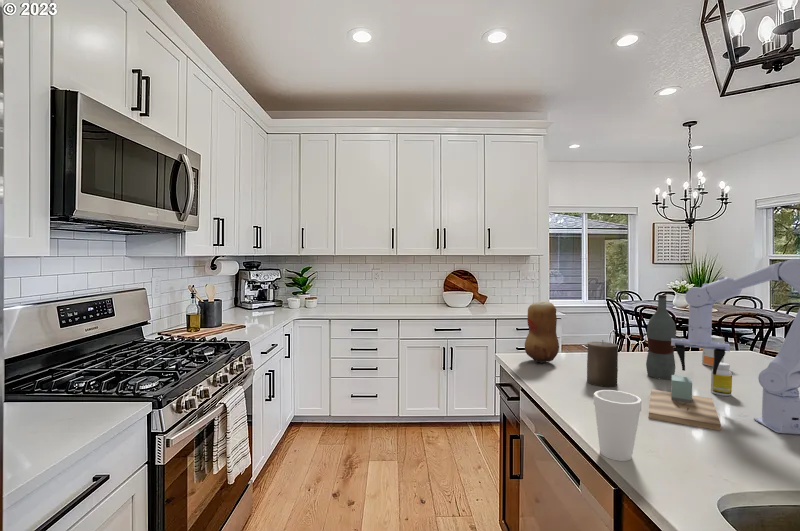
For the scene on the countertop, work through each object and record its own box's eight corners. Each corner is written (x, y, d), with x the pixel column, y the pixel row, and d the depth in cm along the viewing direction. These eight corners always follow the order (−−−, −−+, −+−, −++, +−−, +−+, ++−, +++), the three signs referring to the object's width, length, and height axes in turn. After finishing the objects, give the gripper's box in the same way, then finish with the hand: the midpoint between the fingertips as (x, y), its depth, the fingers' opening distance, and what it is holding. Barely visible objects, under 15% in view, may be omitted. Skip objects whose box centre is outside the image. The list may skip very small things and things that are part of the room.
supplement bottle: (735, 396, 137) (736, 366, 137) (715, 395, 138) (716, 365, 138) (725, 391, 143) (726, 362, 142) (707, 390, 144) (708, 361, 144)
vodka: (681, 378, 157) (683, 295, 157) (663, 381, 154) (665, 296, 153) (657, 371, 166) (659, 293, 165) (640, 374, 163) (642, 294, 162)
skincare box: (701, 364, 178) (702, 335, 178) (707, 363, 180) (708, 334, 180) (717, 368, 173) (718, 338, 172) (724, 366, 174) (724, 337, 174)
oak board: (720, 430, 111) (720, 424, 111) (648, 417, 119) (648, 412, 119) (711, 403, 131) (712, 398, 131) (650, 393, 139) (650, 389, 139)
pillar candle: (619, 388, 145) (620, 343, 145) (587, 385, 148) (588, 341, 148) (615, 380, 154) (616, 338, 154) (585, 378, 157) (586, 336, 157)
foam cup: (599, 441, 104) (600, 387, 103) (643, 453, 98) (644, 395, 97) (587, 455, 96) (589, 397, 96) (634, 469, 90) (635, 407, 90)
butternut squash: (518, 359, 184) (519, 300, 183) (545, 357, 188) (546, 299, 187) (538, 367, 171) (539, 304, 170) (566, 365, 175) (567, 303, 174)
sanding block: (691, 403, 126) (692, 383, 126) (671, 400, 129) (672, 380, 129) (690, 396, 132) (691, 377, 132) (671, 393, 135) (671, 374, 135)
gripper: (671, 326, 132) (670, 371, 132) (731, 331, 124) (730, 378, 124) (671, 323, 137) (670, 366, 138) (729, 328, 130) (727, 373, 130)
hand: (698, 371), depth 131 cm, fingers open, 7 cm apart
